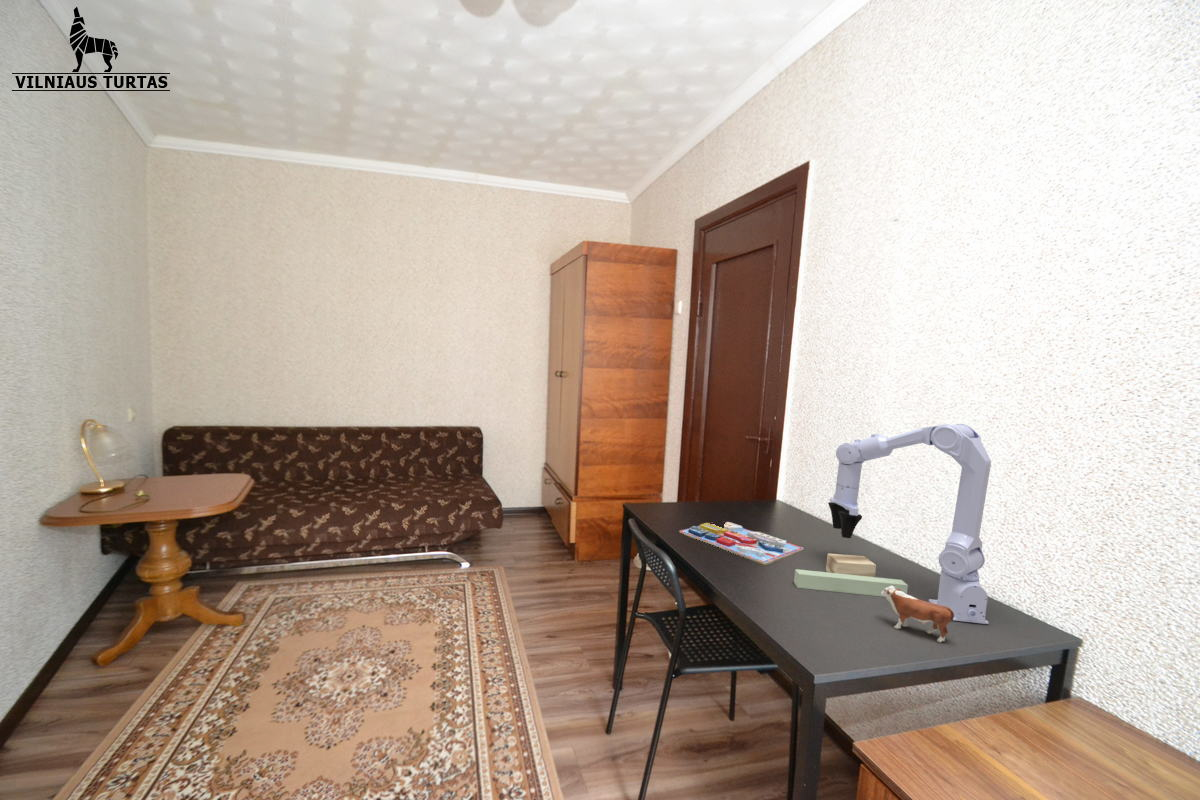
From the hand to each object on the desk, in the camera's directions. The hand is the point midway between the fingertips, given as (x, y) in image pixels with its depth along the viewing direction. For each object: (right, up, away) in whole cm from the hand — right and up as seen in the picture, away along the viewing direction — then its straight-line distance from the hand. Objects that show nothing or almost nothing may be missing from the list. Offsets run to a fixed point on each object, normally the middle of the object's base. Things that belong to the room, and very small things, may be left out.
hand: (841, 532), depth 139 cm
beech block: (-1, -10, -6) cm, 12 cm away
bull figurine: (-1, -12, -33) cm, 36 cm away
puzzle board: (-24, -8, +15) cm, 30 cm away
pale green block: (-6, -10, -16) cm, 20 cm away
